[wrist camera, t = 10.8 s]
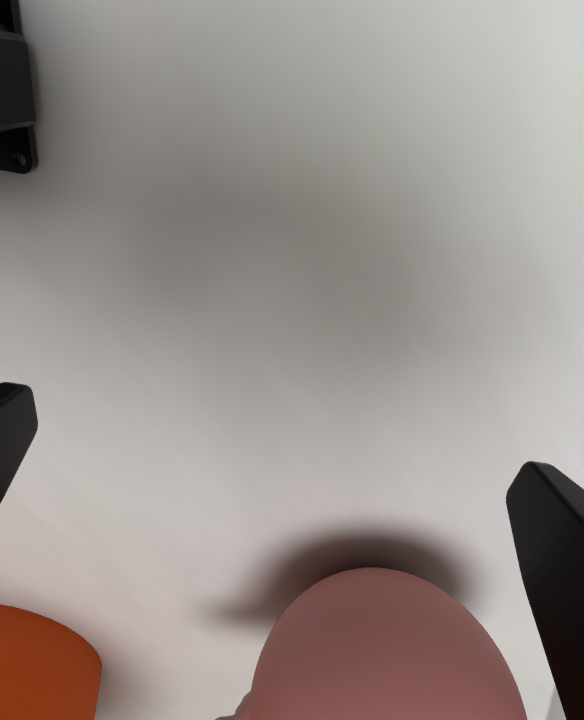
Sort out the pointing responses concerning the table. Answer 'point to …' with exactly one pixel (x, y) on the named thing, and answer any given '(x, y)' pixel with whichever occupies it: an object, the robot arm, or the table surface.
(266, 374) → the table surface
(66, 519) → the table surface
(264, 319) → the table surface
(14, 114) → the robot arm
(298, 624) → the balloon
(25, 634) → the flowerpot
